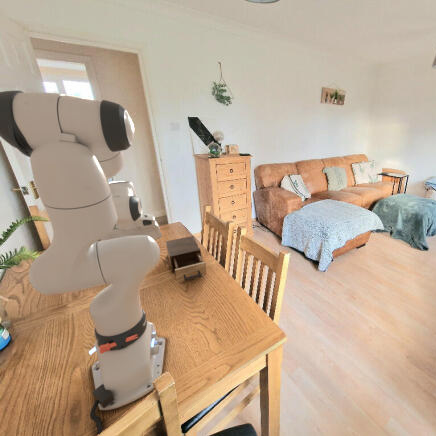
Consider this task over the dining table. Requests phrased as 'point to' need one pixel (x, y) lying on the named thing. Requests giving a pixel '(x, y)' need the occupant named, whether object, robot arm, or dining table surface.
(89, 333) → the dining table surface
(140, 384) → the robot arm
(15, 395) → the dining table surface
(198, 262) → the drawer
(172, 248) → the cabinet
